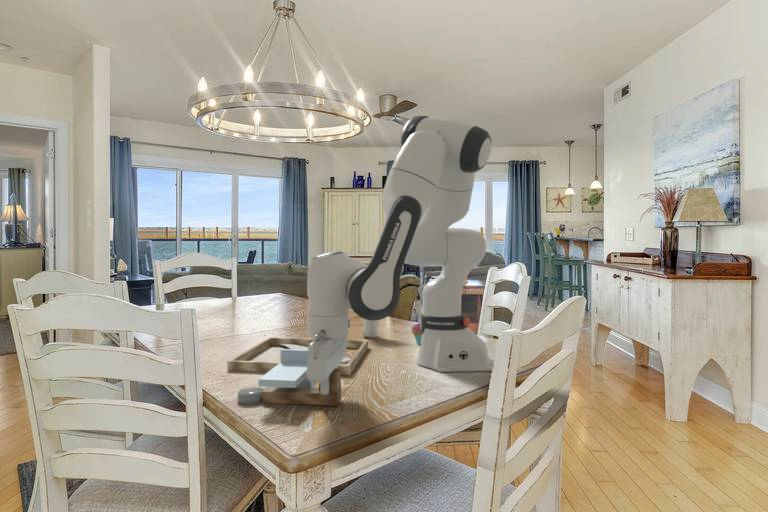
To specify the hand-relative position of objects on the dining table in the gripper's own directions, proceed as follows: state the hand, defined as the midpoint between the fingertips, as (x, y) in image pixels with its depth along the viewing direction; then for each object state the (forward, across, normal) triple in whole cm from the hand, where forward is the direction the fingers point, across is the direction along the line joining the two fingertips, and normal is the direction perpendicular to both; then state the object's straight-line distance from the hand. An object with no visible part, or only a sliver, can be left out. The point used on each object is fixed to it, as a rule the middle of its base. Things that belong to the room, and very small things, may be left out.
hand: (328, 389), depth 98 cm
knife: (+4, +37, +16) cm, 40 cm away
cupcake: (+3, +60, -18) cm, 62 cm away
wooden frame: (+3, +36, +17) cm, 39 cm away
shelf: (+3, +2, +10) cm, 10 cm away
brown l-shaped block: (+3, 0, +6) cm, 7 cm away
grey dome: (+3, 0, +18) cm, 18 cm away
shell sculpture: (+3, +68, +2) cm, 68 cm away
